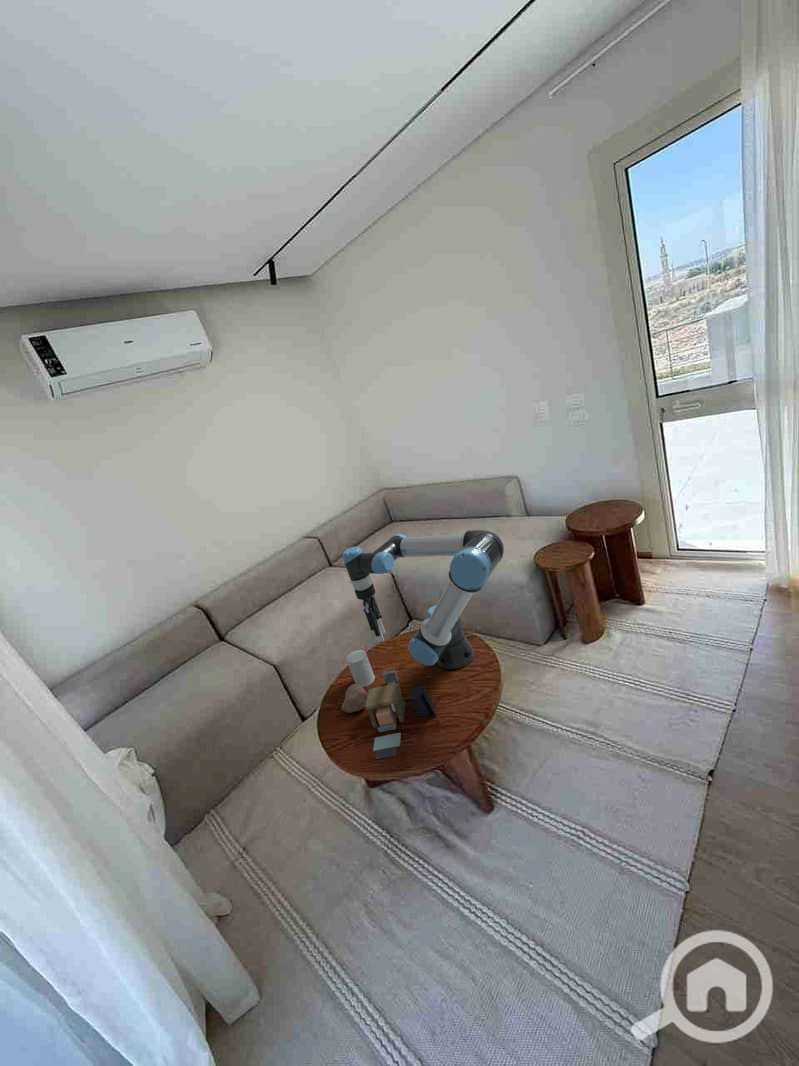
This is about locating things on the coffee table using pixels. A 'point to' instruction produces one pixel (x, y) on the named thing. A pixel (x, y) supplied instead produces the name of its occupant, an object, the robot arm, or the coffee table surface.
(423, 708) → the speaker
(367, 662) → the cup
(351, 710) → the stone
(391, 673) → the grey square dumbbell
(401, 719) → the tunnel
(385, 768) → the coffee table surface
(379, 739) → the pad
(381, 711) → the block
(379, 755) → the pad
